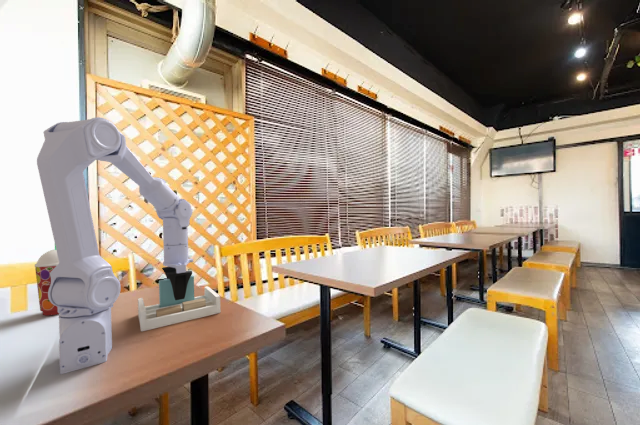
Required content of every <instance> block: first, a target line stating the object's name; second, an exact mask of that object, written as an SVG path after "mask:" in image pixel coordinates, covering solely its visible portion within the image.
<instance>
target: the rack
mask: <svg viewBox="0 0 640 425" xmlns="http://www.w3.org/2000/svg"><path fill="white" fill-rule="evenodd" d="M203 291H204V295H198V296H194V300H197V299H202V298H204V299H205V300H206V307H201V308H197V309H192V310H187V311H183V310H182V303H181V304H176V305H171V306H166V307H161V308H160V304H159V303H156V304H151V305H147V306H145V302H144V299H143V297H140V298H137V316H138V321H139V326H140V327H139V328H140V332H145V331H149V330H154V329H157V328H162V327H166V326H170V325H171V326H172V325H174V324H179V323H184V322H188V321H191V320H197V319H200V318H203V317H204V318H205V317H208V316H211V315H216V314H220V313H221V296H220V295H219V294H218V293H217V292H216V291H215V290H213V289H212V288H211V287H210V286H204V290H203ZM177 305H180V306H181V312H178V313H174V314H169V315H164V316H160V317H156V310H157V309H162V308H167V307H172V306H177Z"/></svg>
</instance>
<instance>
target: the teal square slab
mask: <svg viewBox="0 0 640 425" xmlns="http://www.w3.org/2000/svg"><path fill="white" fill-rule="evenodd" d="M158 294H159V295H158V296H159V300H158V301H159V303H158V304H160V308H161V307H166V306H171V305H176V304H181V303H182V302H187V301H192V300H194V297H195V276H194V275H191V277H190V279H189V281H188V285H187V290H186V295H185V298H184V299H180V300H175V298H174V294H173V289H172V285H171V282H170V280H169V279H167V278H165V279H159V281H158Z"/></svg>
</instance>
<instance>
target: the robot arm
mask: <svg viewBox="0 0 640 425" xmlns="http://www.w3.org/2000/svg"><path fill="white" fill-rule="evenodd" d="M43 136H44V142H43V144H42V145H41V148H40V150H39V153H38V155H37V158H36V165H37V169H38V174H39V179H40V182H41V187H42V188H41V189H42V191H43V192H42V193H43V196H44V201H45V206H46V210H47V214H48V218H49V223H50V227H51V232H52V236H53V241H54V247H55V246H56V250H57V255H58V259H59V264H58V265H57V266H56V267H55V268H54V269H53V270H52V271H51V272H50V276H51V285H50V287H49V290H48V298H49V300H50V302H51V303H52V304H53V305H55V306H57V307H58V313H59V314H58V325H59V326H58V327H59V328H58V329H59V333H58V334H59V341H58V348H59V349H58V350H59V351H58V353H59V354H58V355H59V375H63V374H67V373H69V372H70V373H71V372H74V371H77V370H81V369H86V368H88V367H89V368H90V367H92V366H95V365H99V364H103V363H105V362H107V361H108V355H109V354H110V352H111V351H112V349H113V335H112V332H113V330H112V327H113V326H112V308H114V304H115V303H116V301H117V300H118V298H119V296H120V294H121V289H122V288H121V287H122V286H121V282H120V280H119V279H118V277H117V276H116V275H115V274H114V272H113V268H112V267H113V266H112V265H111V264H110V263H109V262H108V261H107V260H106V259H104V258H103V257H102V256H101V255H100V252H99V250H100V249H99V246H98V242H97V236H96V231H95V225H94V222H93V217H92V210H91V206H90V200H89V197H88V192H87V187H86V182H85V175H84V171H85V170H86V169H87V168H89V166H90V165H92V163H94V162H95V161H100V162H107V163H111V164H112V165H113V166H114V167H115V168H116V169H118V170H120V171H121V173H123V174H124V176H127V177H128V178H129V179H130V180H131V181H132V182H134V183H135V184H136V185H137V186H139V188H138V190H139V191H138V192H139V195H141V196H142V197H143V198H144V199H145V200H146V202H147V201H148V203H149V204H151V206H153V208H154V209H155V211H156V215H157V217H158V218H159V219H160V220H162V234H163V235H162V238H163V262H162V265H163V266H164V267H163V266H162V268H161V269H162V271H163V272H164V274H165V277H166V279H169V280H170V282H171V285H172V289H173V294H174V298H175V300H180V299H184V298H185V295H186V290H187V285H188V281H189V279H190V277H191V276H192V274H193V270H188V271H187V265H188V264H190V263H193V262H194V259H193V258H189V235H188V234H189V233H188V232H189V231H188V229H189V228H188V227H189V226H190V219H191V217H192V215H193V208H192V206H191V204H190V202H189V201H188V200H186V199H184V198H181V197H180V196H178V194H177V193H176V192H174V190H173V189H172V188H171V187H170V186H169V185H168V184H167V181H166V180H165V179H163V178H161V177H156V176H155V177H154V176H153V175H151V173H150V172H149V171H148V170H147V168H146V167H145V166H144V165H143V163H142V162H141V161H140V160H139V159H138V157H137V156H136V155H135V154H134V153H133V152H132V151H131V149H130V148H129V147H128V146H127V143H126V142H127V140H126V139H127V138H126V136H125V135H124V134H123V133H122V132H121V131H119V129H118V128H117V126H116V125H115V124H114V123H113V122H112V121H110V120H109V119H107V118H104V117H99V116H98V117H92V118H89V119H81V120H75V121H73V120H72V121H60V122H57V123H55V124H53V125H51V126H50V127H49V128H47V129H45V130H44V131H43Z"/></svg>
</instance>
